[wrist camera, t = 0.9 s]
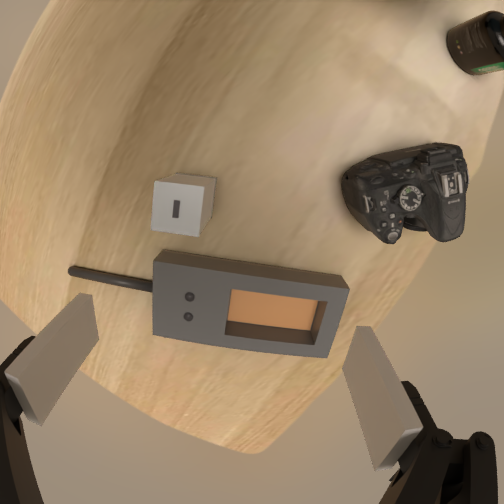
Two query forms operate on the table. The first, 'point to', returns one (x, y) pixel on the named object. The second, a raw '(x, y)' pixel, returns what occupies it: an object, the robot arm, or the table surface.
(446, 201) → the camera
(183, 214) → the block
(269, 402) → the table surface
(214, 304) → the power strip
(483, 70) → the supplement bottle
